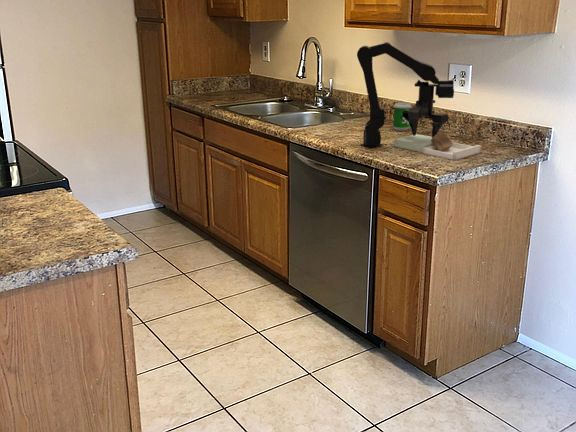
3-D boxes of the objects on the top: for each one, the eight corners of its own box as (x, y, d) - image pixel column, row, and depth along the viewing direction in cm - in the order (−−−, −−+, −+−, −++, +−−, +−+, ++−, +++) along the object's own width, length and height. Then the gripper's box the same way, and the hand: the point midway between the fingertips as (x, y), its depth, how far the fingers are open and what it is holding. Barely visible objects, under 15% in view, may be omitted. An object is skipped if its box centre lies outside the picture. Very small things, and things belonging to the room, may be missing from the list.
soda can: (396, 131, 273) (398, 105, 269) (390, 128, 280) (391, 102, 276) (412, 131, 275) (414, 104, 271) (406, 127, 282) (407, 101, 278)
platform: (394, 146, 247) (394, 139, 246) (416, 141, 256) (416, 134, 254) (423, 152, 237) (424, 145, 236) (445, 146, 245) (445, 139, 244)
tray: (422, 153, 235) (422, 145, 234) (448, 146, 246) (448, 139, 245) (454, 160, 225) (455, 152, 224) (480, 152, 235) (480, 145, 234)
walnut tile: (430, 140, 238) (435, 135, 236) (439, 137, 242) (444, 132, 239) (439, 151, 236) (444, 146, 234) (448, 149, 240) (453, 144, 238)
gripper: (394, 97, 240) (392, 136, 245) (433, 103, 227) (430, 144, 232) (411, 94, 247) (409, 132, 252) (450, 99, 234) (448, 139, 239)
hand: (423, 137), depth 244 cm, fingers open, 9 cm apart
